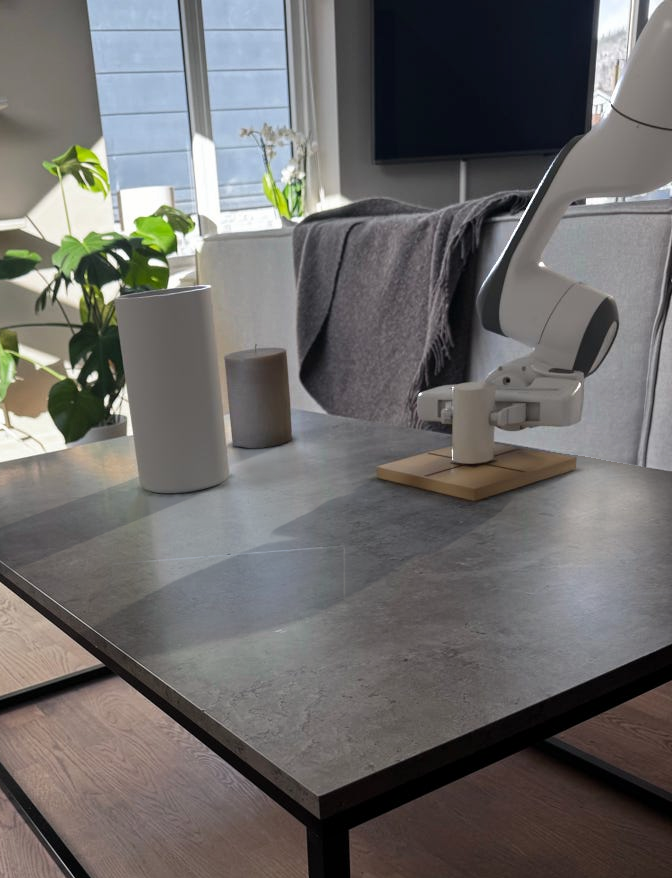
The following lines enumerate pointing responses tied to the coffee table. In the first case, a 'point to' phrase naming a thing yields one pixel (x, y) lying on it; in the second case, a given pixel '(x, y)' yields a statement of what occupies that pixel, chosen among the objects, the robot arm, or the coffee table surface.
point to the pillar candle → (258, 397)
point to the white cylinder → (472, 422)
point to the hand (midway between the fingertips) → (470, 418)
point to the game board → (476, 471)
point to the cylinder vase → (173, 388)
